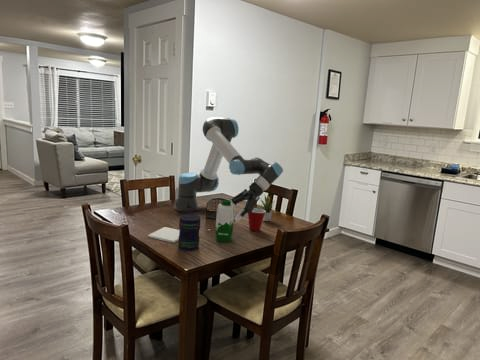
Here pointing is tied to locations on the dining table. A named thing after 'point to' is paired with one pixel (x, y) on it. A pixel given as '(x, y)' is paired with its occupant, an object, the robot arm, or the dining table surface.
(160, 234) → the plate
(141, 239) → the dining table surface
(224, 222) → the soya milk
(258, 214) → the plastic cup
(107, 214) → the dining table surface
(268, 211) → the house plant
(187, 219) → the storage jar
